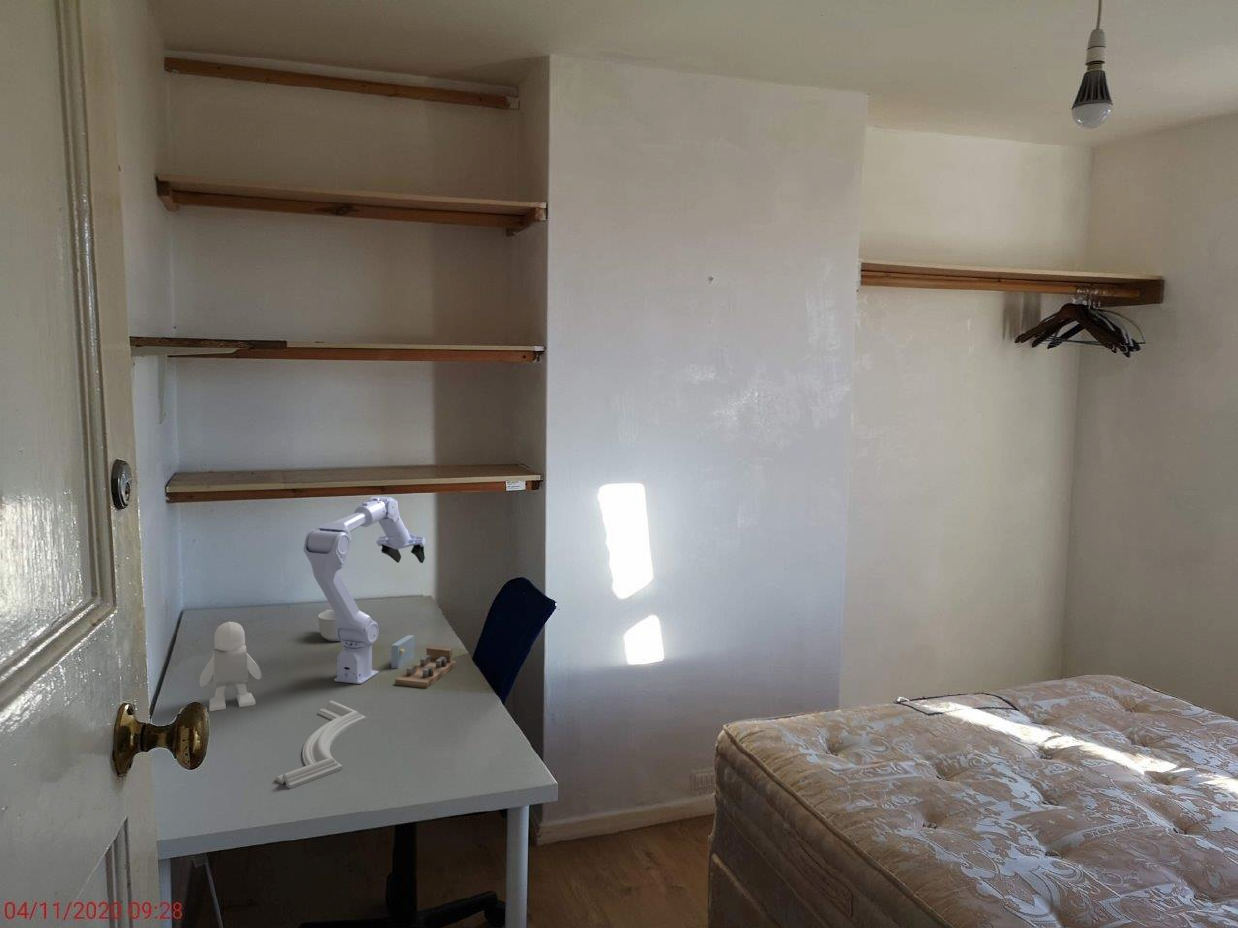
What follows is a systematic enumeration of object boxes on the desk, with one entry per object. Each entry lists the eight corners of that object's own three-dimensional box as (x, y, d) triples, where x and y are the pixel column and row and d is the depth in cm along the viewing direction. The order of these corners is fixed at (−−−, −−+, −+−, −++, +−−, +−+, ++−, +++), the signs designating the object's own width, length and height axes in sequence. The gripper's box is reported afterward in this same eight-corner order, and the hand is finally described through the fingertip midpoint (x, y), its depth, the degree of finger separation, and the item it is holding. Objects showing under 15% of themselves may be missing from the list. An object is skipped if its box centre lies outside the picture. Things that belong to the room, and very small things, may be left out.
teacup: (359, 640, 267) (359, 614, 266) (323, 645, 261) (322, 619, 260) (347, 629, 279) (347, 604, 278) (312, 633, 273) (311, 608, 272)
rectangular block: (400, 668, 242) (400, 645, 241) (391, 667, 243) (391, 645, 242) (417, 657, 252) (417, 635, 251) (408, 656, 252) (408, 634, 252)
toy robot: (200, 712, 209) (198, 630, 207) (199, 700, 216) (197, 620, 214) (263, 703, 215) (261, 623, 213) (260, 691, 223) (258, 614, 221)
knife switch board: (427, 687, 227) (426, 669, 227) (395, 684, 229) (395, 666, 229) (455, 666, 245) (455, 648, 244) (426, 663, 247) (426, 645, 246)
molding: (321, 710, 213) (321, 699, 213) (372, 708, 214) (372, 697, 214) (269, 792, 171) (269, 777, 171) (333, 789, 172) (333, 775, 172)
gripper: (422, 518, 250) (437, 550, 259) (376, 518, 253) (393, 549, 262) (414, 537, 245) (430, 568, 254) (367, 537, 248) (384, 567, 257)
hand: (410, 560), depth 258 cm, fingers open, 7 cm apart
